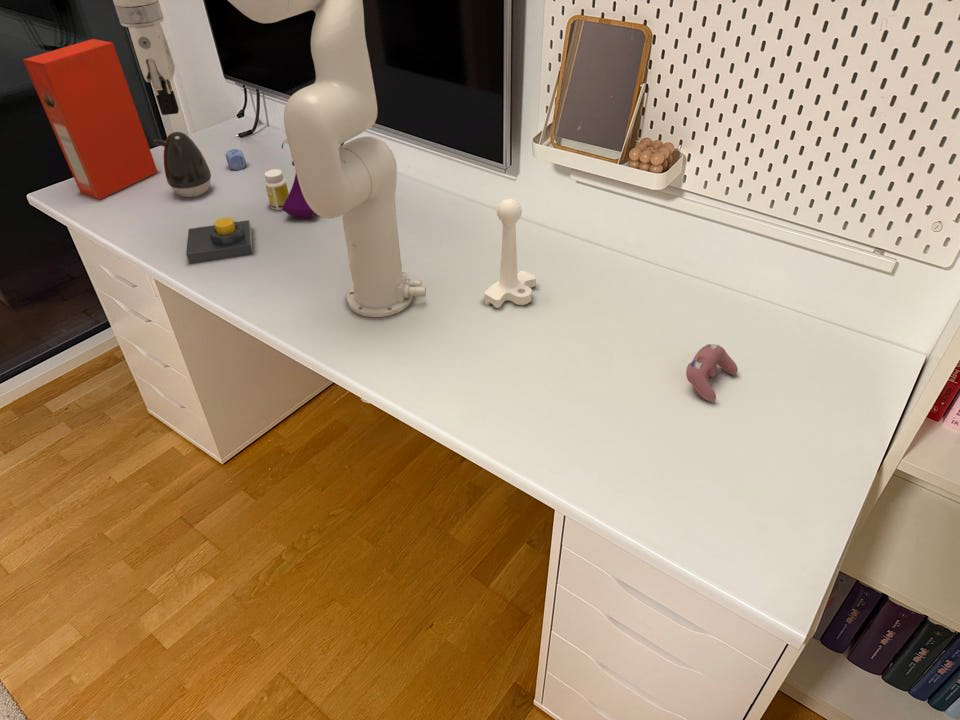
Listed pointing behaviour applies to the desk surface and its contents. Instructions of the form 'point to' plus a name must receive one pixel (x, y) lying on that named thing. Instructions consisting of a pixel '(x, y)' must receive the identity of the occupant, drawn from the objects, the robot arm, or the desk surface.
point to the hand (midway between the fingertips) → (170, 112)
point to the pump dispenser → (184, 165)
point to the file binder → (92, 116)
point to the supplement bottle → (276, 188)
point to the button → (225, 226)
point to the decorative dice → (235, 159)
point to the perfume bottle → (297, 200)
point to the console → (218, 243)
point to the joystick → (510, 262)
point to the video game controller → (708, 369)
